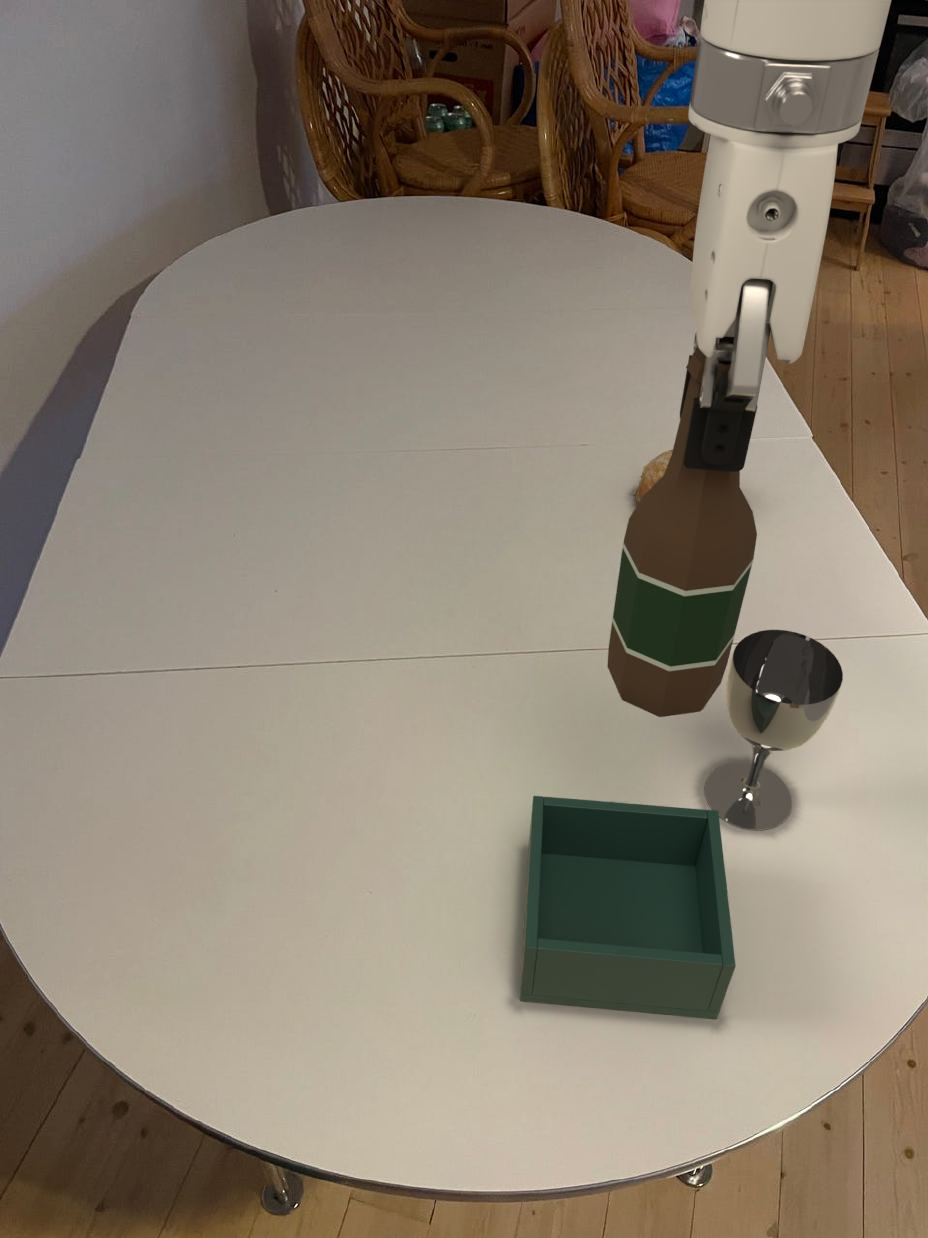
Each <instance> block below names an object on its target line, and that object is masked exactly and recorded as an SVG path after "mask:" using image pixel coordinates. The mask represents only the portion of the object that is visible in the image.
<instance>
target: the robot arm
mask: <svg viewBox="0 0 928 1238" xmlns="http://www.w3.org/2000/svg"><path fill="white" fill-rule="evenodd" d="M891 3H892V0H704V1H703V8H702V15H701V23H700V33H699V35H698V43H697V49H696V57H695V65H694V71H693V77H692V84H691V91H690V99H689V106H688V113H687V118H688V121H689V122H690V123H691V125H692V126H695V127H696V128H697V129H698V130H700V131H701V132H703V133H706V134H709V142H708V146H707V154H706V157H705V158H706V159H705V165H704V171H703V178H702V184H701V190H700V198H699V204H698V211H697V218H696V226H695V234H694V242H693V253H692V265H691V278H690V279H691V280H690V281H691V282H690V289H691V299H692V309H693V317H694V318H693V319H694V327H695V334H694V340H693V353H694V352H695V351H696V350H697V349H698V348H699V349H700V350H701V351H702V352H703V354H704V355H706V360H705V366H704V373H703V379H702V386H701V392H700V398H694V399H693V404H692V410H691V416H690V421H689V427H688V433H687V438H686V444H685V450H684V455H683V461H684V466H685V467H687V468H690V469H703V470H717V471H731V472H738V471H740V472H741V471H742V470H743V469H744V467H745V464H746V460H747V456H748V451H749V447H750V440H751V437H752V433H753V428H754V423H755V420H756V415H757V411H758V401H759V395H760V391H761V384H762V380H763V374H764V368H765V363H766V358H767V352H768V347H769V342H770V336H771V338H772V343H773V346H774V350H775V354H776V359H777V361H784V363H785V364H793V363H794V362H795V363H796V361H798V360H799V358H800V357H801V356H802V355H803V350H804V345H805V342H806V341H805V340H806V337H807V331H808V325H809V321H810V316H811V311H812V306H813V301H814V297H815V291H816V285H817V281H818V276H819V271H820V266H821V262H822V257H823V251H824V246H825V241H826V236H827V231H828V230H827V229H828V224H829V218H830V211H831V205H832V199H833V193H834V185H835V177H836V171H837V170H836V169H837V168H836V167H837V157H838V148H839V147H838V146H839V144H842V143H845V142H847V141H850V140H852V139H853V138H855V137H856V136H857V135H858V133H859V132H860V128H861V124H862V121H863V116H864V114H865V113H864V112H865V110H866V109H865V108H866V104H867V100H868V96H869V93H870V88H871V84H872V81H873V76H874V73H875V69H876V64H877V59H878V56H879V52H880V47H881V43H882V41H883V36H884V32H885V27H886V24H887V19H888V15H889V12H890V7H891ZM719 342H728V343H731V344H725V343H719ZM691 356H692V354H689V355H688V360H687V363H688V362H689V360H690V358H691ZM719 361H722V362H731V366H730V370H729V371H728V373H722V372H721V373H720V375H719V376H718V378H717V379H716V376H717V370H718V364H719ZM690 377H691V374H690V373H689V371H688V370H687V369H686V372H685V378H684V384H683V389H682V390H683V391H682V396H681V403H680V409H679V419H680V418H681V414H682V410H683V406H684V402H685V398H686V394H687V390H688V385H689V381H690Z"/></svg>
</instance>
